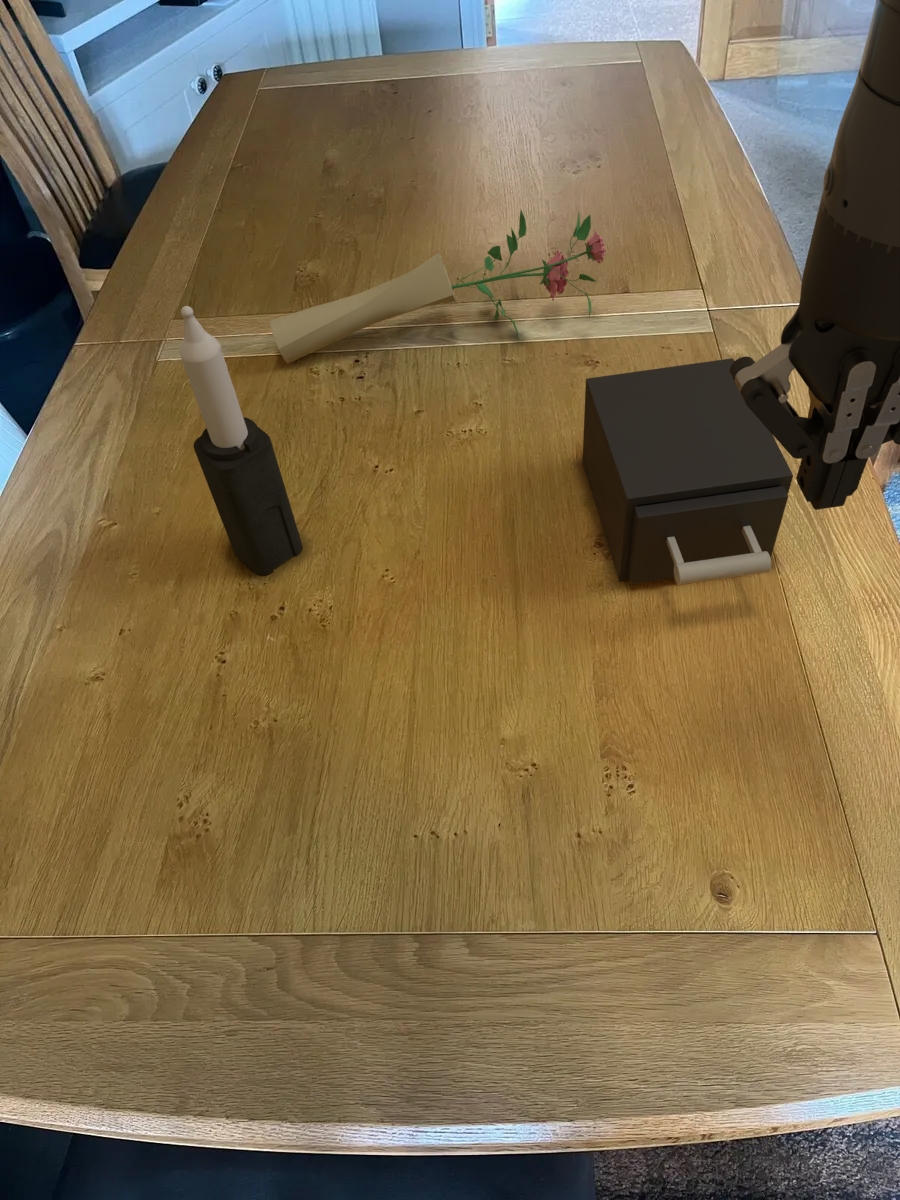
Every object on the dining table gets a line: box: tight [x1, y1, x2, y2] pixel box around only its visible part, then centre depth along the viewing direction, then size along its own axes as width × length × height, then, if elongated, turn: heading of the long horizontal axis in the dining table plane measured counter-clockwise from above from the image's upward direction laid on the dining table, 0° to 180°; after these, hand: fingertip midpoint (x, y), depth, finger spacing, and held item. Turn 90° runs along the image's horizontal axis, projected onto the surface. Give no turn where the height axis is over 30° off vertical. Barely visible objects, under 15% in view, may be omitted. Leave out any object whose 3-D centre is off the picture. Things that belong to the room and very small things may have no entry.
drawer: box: [627, 486, 789, 586], centre depth 77 cm, size 18×12×8 cm, turn 7°
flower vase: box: [269, 209, 606, 364], centre depth 99 cm, size 12×12×35 cm
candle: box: [179, 305, 303, 577], centre depth 74 cm, size 5×5×25 cm
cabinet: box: [581, 357, 794, 582], centre depth 79 cm, size 15×13×10 cm
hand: (822, 497), depth 51 cm, fingers closed
